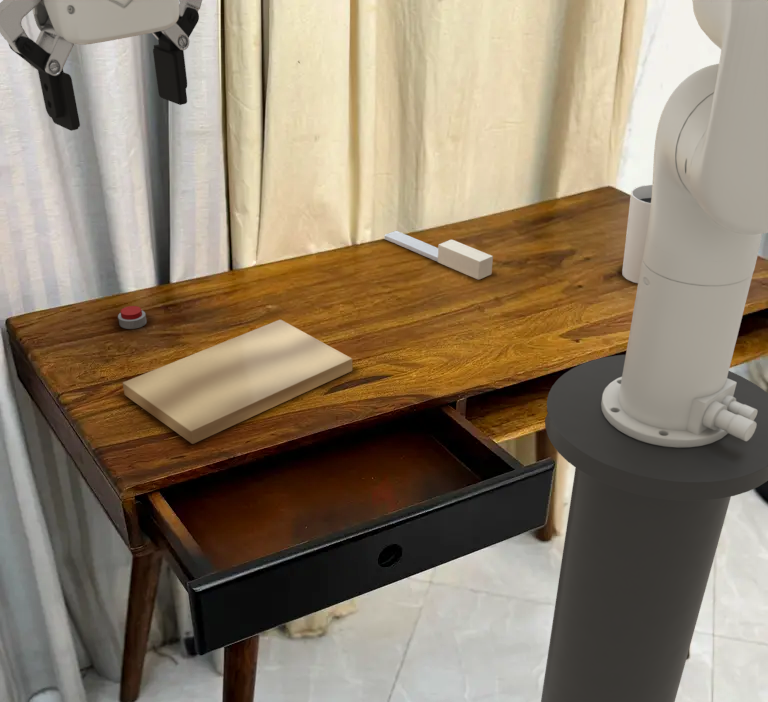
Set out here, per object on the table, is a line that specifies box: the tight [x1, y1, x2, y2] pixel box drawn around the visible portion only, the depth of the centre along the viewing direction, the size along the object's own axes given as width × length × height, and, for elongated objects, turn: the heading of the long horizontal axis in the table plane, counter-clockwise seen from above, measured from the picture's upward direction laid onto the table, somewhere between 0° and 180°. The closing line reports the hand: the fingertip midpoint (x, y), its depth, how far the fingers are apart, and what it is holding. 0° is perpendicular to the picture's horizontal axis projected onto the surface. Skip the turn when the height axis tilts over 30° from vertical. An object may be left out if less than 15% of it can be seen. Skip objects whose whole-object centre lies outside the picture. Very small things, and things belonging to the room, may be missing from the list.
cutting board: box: [122, 319, 353, 445], centre depth 100 cm, size 12×20×2 cm, turn 133°
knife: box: [383, 230, 494, 281], centre depth 125 cm, size 17×2×2 cm, turn 43°
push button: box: [117, 305, 148, 330], centre depth 111 cm, size 3×3×2 cm
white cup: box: [621, 184, 652, 284], centre depth 118 cm, size 7×7×10 cm
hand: (121, 113), depth 78 cm, fingers open, 9 cm apart
